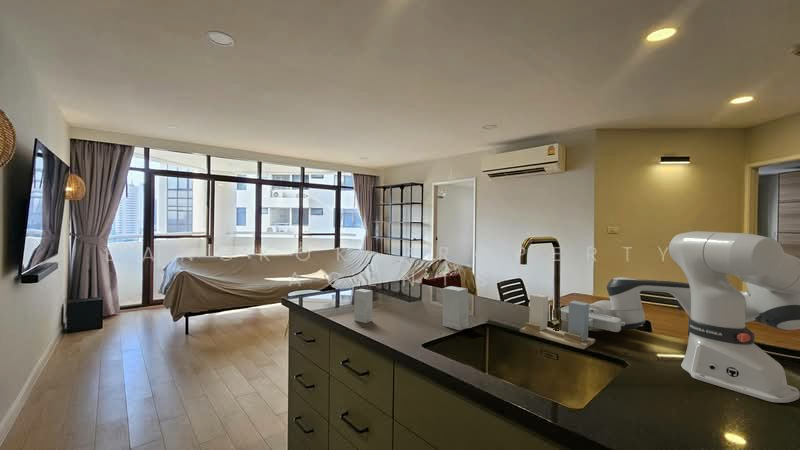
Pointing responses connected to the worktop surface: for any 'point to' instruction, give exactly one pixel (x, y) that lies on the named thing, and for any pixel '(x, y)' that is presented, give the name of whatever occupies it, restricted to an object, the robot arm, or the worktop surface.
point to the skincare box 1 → (363, 305)
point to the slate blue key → (578, 319)
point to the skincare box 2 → (455, 307)
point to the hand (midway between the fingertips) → (580, 323)
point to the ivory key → (538, 310)
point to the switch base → (557, 336)
